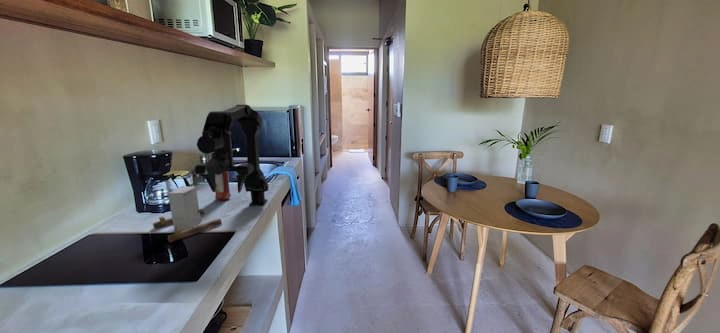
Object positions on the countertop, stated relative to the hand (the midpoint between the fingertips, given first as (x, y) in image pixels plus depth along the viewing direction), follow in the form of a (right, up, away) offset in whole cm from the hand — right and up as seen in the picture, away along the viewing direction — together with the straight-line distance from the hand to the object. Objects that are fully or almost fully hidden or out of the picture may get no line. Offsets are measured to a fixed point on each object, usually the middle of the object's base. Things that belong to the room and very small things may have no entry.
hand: (226, 192), depth 108 cm
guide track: (-18, -14, +8) cm, 24 cm away
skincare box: (-18, -14, +8) cm, 24 cm away
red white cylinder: (-17, -6, +35) cm, 39 cm away
